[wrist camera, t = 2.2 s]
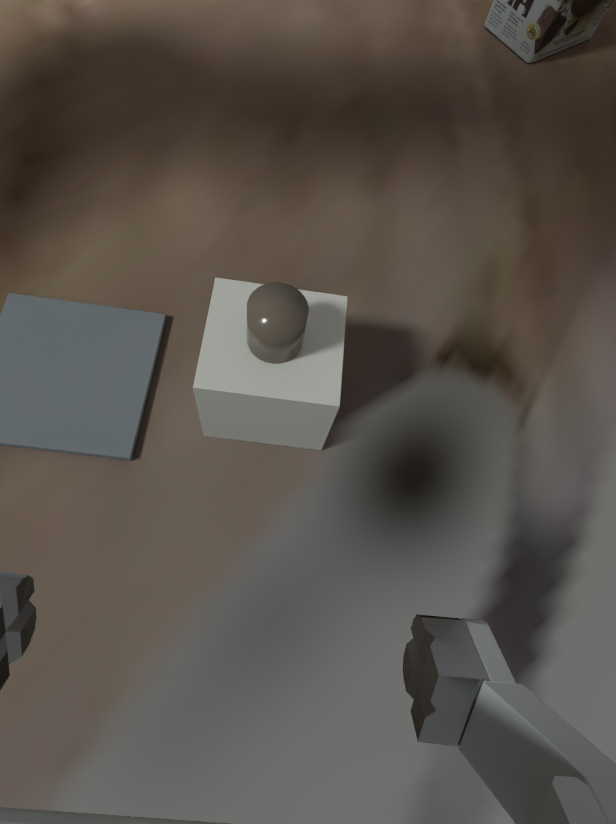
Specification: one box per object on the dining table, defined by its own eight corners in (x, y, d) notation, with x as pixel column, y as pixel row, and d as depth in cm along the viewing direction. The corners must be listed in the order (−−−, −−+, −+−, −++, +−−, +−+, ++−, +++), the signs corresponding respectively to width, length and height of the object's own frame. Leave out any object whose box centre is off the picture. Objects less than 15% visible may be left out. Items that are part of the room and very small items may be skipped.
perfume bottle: (203, 435, 27) (186, 359, 19) (221, 342, 30) (212, 241, 22) (321, 450, 28) (350, 381, 20) (329, 356, 30) (357, 262, 22)
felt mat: (-46, 439, 26) (-50, 437, 25) (11, 297, 29) (8, 292, 29) (131, 460, 26) (129, 458, 26) (166, 318, 30) (165, 314, 29)
